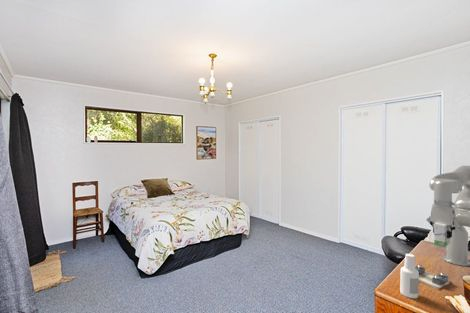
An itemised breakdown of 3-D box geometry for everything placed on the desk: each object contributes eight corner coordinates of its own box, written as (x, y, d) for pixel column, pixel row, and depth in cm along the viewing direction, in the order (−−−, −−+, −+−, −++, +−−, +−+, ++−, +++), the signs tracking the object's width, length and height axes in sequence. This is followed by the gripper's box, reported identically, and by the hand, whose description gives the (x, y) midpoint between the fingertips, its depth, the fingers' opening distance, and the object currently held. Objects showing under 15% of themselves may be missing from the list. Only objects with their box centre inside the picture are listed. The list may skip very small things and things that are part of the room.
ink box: (445, 247, 133) (445, 225, 132) (433, 244, 137) (433, 223, 137) (450, 243, 138) (450, 222, 137) (439, 241, 142) (439, 220, 141)
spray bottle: (419, 300, 109) (419, 259, 109) (400, 295, 113) (401, 255, 112) (417, 293, 115) (418, 254, 114) (399, 288, 118) (400, 250, 118)
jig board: (420, 270, 137) (420, 268, 137) (451, 282, 125) (451, 280, 125) (406, 276, 130) (406, 274, 130) (437, 289, 118) (437, 287, 118)
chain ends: (418, 270, 135) (418, 264, 135) (448, 281, 124) (448, 274, 124) (409, 274, 131) (409, 267, 131) (439, 285, 120) (439, 278, 119)
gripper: (465, 205, 131) (465, 239, 132) (428, 199, 146) (427, 230, 147) (459, 207, 127) (459, 242, 128) (421, 201, 142) (421, 233, 143)
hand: (442, 235), depth 137 cm, fingers closed on ink box, 5 cm apart
